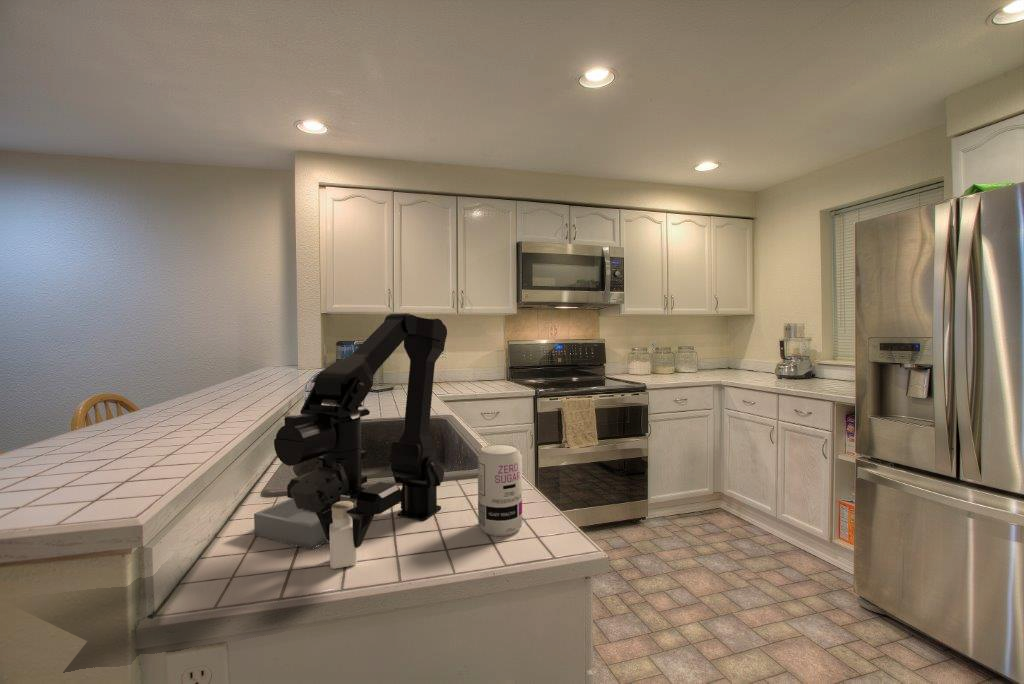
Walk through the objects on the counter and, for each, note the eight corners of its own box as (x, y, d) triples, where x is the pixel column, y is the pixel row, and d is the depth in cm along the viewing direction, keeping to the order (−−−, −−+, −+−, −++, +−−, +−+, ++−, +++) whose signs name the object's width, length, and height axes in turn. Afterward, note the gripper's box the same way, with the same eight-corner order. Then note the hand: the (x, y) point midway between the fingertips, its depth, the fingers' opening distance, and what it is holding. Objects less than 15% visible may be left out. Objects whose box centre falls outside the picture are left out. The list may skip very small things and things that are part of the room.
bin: (368, 517, 91) (367, 497, 91) (312, 549, 79) (311, 526, 78) (315, 507, 97) (314, 488, 97) (254, 535, 84) (254, 513, 84)
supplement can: (496, 515, 92) (495, 440, 92) (530, 525, 88) (530, 447, 87) (469, 530, 86) (468, 450, 85) (505, 542, 81) (504, 457, 80)
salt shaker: (357, 566, 73) (356, 507, 73) (330, 571, 72) (328, 511, 71) (356, 554, 77) (355, 498, 76) (330, 559, 75) (329, 501, 75)
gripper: (255, 454, 70) (258, 555, 71) (352, 469, 63) (354, 582, 63) (313, 437, 80) (315, 526, 81) (402, 448, 73) (403, 545, 74)
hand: (344, 543), depth 74 cm, fingers closed on salt shaker, 5 cm apart
